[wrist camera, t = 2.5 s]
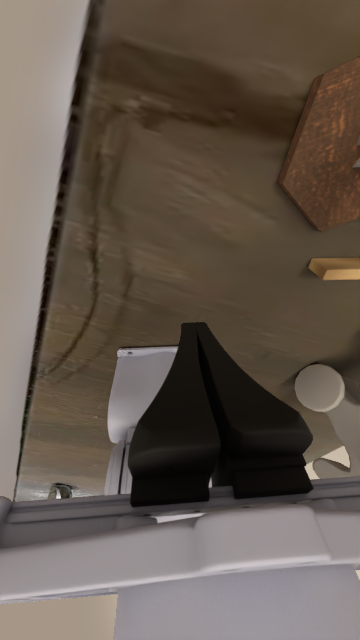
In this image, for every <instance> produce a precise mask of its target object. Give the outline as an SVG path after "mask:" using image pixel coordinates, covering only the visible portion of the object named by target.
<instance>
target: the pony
mask: <svg viewBox="0 0 360 640" xmlns="http://www.w3.org/2000/svg"><path fill="white" fill-rule="evenodd" d="M295 392H296V395H297V398H298V400H299V401H300V402H301V403H302V404H303V406H305V407H307V408H309V409H311V410H313V411H316V412H324V413H325V414H326V415H327V416H328V417H329V418H330V420H331V423H332V427H333V429H334V431H335V433H336V435H337V436H338V438H339V439H340V441H341V442H342V444H343V445H344V446H345V448H346V451H347V453H348V455H349V460H350V468H348V467H346V466H344V465H343V464H341V463H339V462H335V461H332V460H328V459H325V458H318V459H316V460H314V462H313V469H314V471H315V473H316V474H317V476H318V477H319V478H320V479H327V478H340V477H354V476H360V385H358V384H357V383H356V382H355V381H353V380H351V379H348V378H344V377H341V375H340V374H339V373H338V372H336V371H335V370H334V369H333V368H332V367H330V366H326V365H322V364H315V365H310V366H308V367H306V368H305V369H303V370H302V371H300V373H299V375H298V376H297V378H296V381H295Z"/></svg>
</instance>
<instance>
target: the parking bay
mask: <svg viewBox="0 0 360 640" xmlns="http://www.w3.org/2000/svg"><path fill="white" fill-rule="evenodd" d="M308 268H309V269H310V270H311V271H312V272H314V273H315V274H316V275H317V276H318V277H319V278H321V279H322V280H349V279H360V257H352V258H312V259H311V262H310V264H309V267H308Z"/></svg>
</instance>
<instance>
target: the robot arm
mask: <svg viewBox="0 0 360 640" xmlns="http://www.w3.org/2000/svg"><path fill="white" fill-rule="evenodd" d="M117 355H118V360H117V365H116V370H115V375H114V380H113V384H112V389H111V394H110V399H109V406H108V433H109V438H110V440H111V442H113V443H118V444H116V445H115V446H114V447H113V449H112V451H111V455H110V459H109V464H108V470H107V476H106V482H105V489H104V495H102V496H89V497H75V498H62V499H49V500H36V501H22V502H12V501H11V500H10V499H9V498H6V497H3V496H0V604H8V603H18V602H30V601H42V600H52V599H65V598H76V597H88V596H98V595H110V594H118V598H117V608H116V618H115V628H114V639H113V640H360V580H359V578H358V576H357V573H356V571H355V570H360V476H354V477H340V478H327V479H314V480H310V479H309V477H308V474H307V472H306V470H305V467H304V466H306V462H305V459H304V457H303V455H302V454H303V453H304V452H305V451H306V449H307V448H308V447H309V446H310V444H311V443H312V440H313V436H312V434H311V432H310V430H309V428H308V426H307V424H306V423H305V421H304V420H303V418H302V417H301V415H300V413H299V412H298V411H296V410H295V409H293V408H292V407H290V406H288V405H287V404H285V403H284V402H282V401H281V400H279V399H278V398H276V397H275V396H273V395H272V394H271V393H269V392H268V391H266V390H265V389H264V388H263V387H262V386H260V385H259V384H258V383H257V382H255V381H254V380H253V379H252V378H251V377H250V376H249V375H247V374H246V373H245V372H244V371H243V370H242V369H241V368H240V367H239V366H238V365H237V364H236V363H235V362H234V360H233V359H232V358H231V357H230V356H229V355H228V354H227V352H226V351H225V350H224V349H223V347H222V346H221V345H220V344H219V342H218V341H217V339H216V338H215V337H214V335H213V334H212V332H211V331H210V329H209V327H208V326H207V324H206V323H205V322H196V323H183V324H181V337H180V342H179V345H178V346H170V347H146V348H122V349H118V351H117Z"/></svg>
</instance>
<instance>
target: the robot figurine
mask: <svg viewBox="0 0 360 640" xmlns="http://www.w3.org/2000/svg"><path fill="white" fill-rule="evenodd" d="M277 182H278V184H279V185H280V186H281V187H282V189H283V190H284V191H285V192H286V194H287V195H288V196H289V197H290V199H291V200H292V201H293V202H294V204H295V205H296V206H297V207H298V209H299V210H300V211H301V212H302V214H303V215H304V216H305V217H306V218H307V220H308V221H309V222H310V223H311V225H312V226H313V227H314V228H315V229H317V230H318V231H320V232H322V231H325V230H327V229H330V228H333V227H335V226H338V225H341V224H343V223H346V222H349V221H351V220H354V219H357V218H360V56H359V57H357V58H355V59H353V60H351V61H348V62H346V63H344V64H342V65H340V66H338V67H336V68H334V69H332V70H330V71H328V72H326V73H324V74H322V75H320V76H318V77H316V78H315V79H314V82H313V85H312V88H311V90H310V93H309V96H308V99H307V101H306V104H305V107H304V110H303V112H302V115H301V118H300V121H299V123H298V126H297V129H296V132H295V134H294V137H293V140H292V143H291V145H290V148H289V151H288V154H287V156H286V159H285V162H284V165H283V167H282V170H281V173H280V176H279V178H278V181H277Z"/></svg>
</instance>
